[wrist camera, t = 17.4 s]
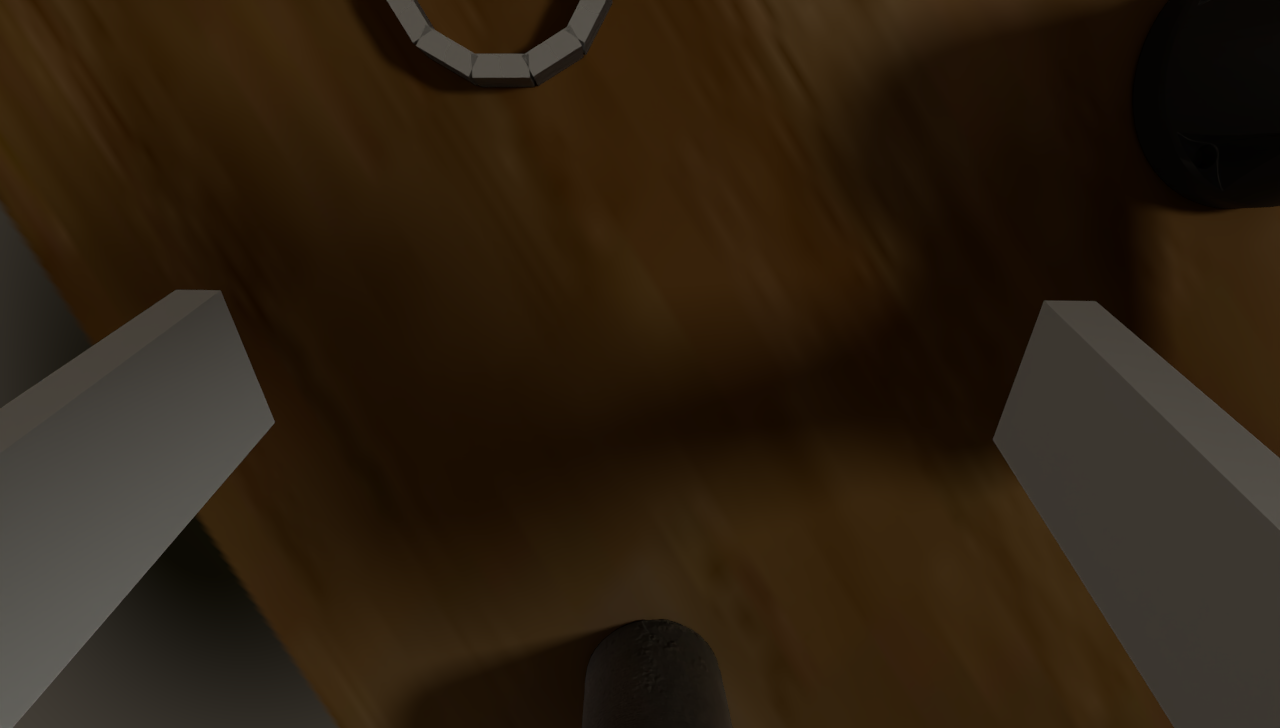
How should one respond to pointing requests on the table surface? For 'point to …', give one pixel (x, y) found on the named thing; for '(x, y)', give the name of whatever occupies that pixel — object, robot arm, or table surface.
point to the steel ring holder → (506, 67)
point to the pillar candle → (654, 680)
